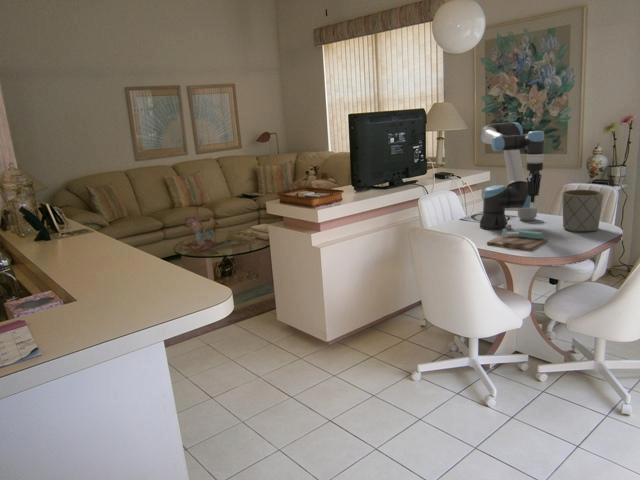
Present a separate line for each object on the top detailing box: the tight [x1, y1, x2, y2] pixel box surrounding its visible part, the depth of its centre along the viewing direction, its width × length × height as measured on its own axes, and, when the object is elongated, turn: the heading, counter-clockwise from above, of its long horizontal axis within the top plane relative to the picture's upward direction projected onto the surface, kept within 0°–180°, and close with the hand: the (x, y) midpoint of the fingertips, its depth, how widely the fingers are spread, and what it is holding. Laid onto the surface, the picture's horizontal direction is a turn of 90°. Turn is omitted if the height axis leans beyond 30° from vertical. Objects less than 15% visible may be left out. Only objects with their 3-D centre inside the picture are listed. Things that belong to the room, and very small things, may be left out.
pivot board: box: [486, 224, 549, 252], centre depth 250 cm, size 22×21×7 cm
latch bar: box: [501, 227, 544, 239], centre depth 256 cm, size 20×6×2 cm, turn 45°
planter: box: [562, 189, 604, 233], centre depth 266 cm, size 19×19×20 cm
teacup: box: [516, 205, 538, 221], centre depth 297 cm, size 14×11×8 cm
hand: (533, 208), depth 256 cm, fingers closed
